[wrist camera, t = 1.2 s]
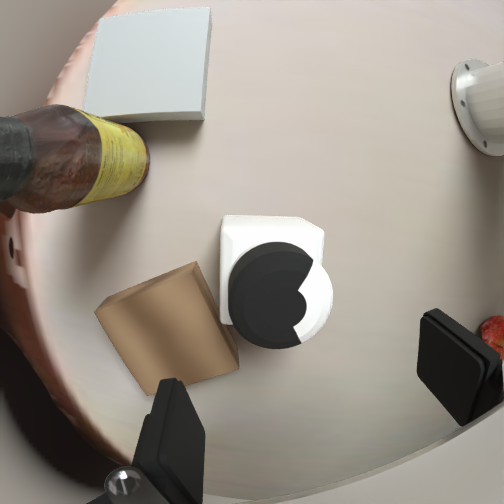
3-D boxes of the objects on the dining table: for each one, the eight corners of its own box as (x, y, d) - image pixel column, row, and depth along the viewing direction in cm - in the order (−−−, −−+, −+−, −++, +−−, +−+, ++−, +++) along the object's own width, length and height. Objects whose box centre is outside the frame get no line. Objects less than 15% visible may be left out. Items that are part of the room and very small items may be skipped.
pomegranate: (463, 355, 36) (518, 345, 30) (462, 385, 31) (524, 374, 25) (461, 314, 35) (520, 302, 29) (462, 343, 30) (530, 329, 24)
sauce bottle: (143, 119, 24) (0, 31, 5) (160, 184, 26) (13, 205, 6) (82, 144, 24) (-90, 123, 5) (97, 206, 26) (-74, 262, 6)
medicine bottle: (221, 291, 28) (218, 363, 17) (222, 214, 27) (217, 242, 15) (296, 291, 29) (336, 359, 17) (302, 216, 27) (353, 245, 16)
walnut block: (196, 259, 28) (191, 272, 24) (237, 346, 30) (239, 368, 26) (108, 295, 28) (93, 311, 24) (154, 373, 31) (147, 395, 27)
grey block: (212, 26, 23) (210, 6, 19) (204, 120, 25) (200, 111, 21) (113, 34, 22) (99, 18, 18) (100, 125, 24) (82, 119, 20)
